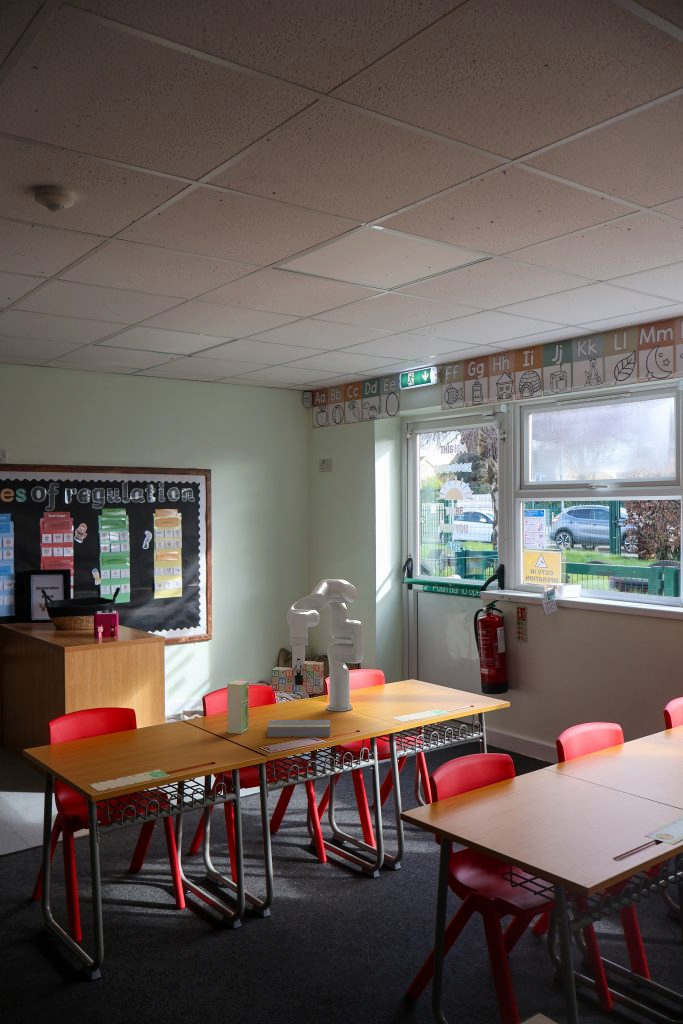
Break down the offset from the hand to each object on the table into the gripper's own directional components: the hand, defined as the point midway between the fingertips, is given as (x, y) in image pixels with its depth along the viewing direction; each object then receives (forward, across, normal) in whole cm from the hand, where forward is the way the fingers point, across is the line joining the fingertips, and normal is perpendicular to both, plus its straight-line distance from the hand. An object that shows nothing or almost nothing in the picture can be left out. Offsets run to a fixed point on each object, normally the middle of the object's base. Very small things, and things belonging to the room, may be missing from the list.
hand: (299, 682), depth 362 cm
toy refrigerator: (+21, -3, -26) cm, 34 cm away
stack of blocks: (+4, 0, -1) cm, 4 cm away
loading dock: (+21, 0, 0) cm, 21 cm away
